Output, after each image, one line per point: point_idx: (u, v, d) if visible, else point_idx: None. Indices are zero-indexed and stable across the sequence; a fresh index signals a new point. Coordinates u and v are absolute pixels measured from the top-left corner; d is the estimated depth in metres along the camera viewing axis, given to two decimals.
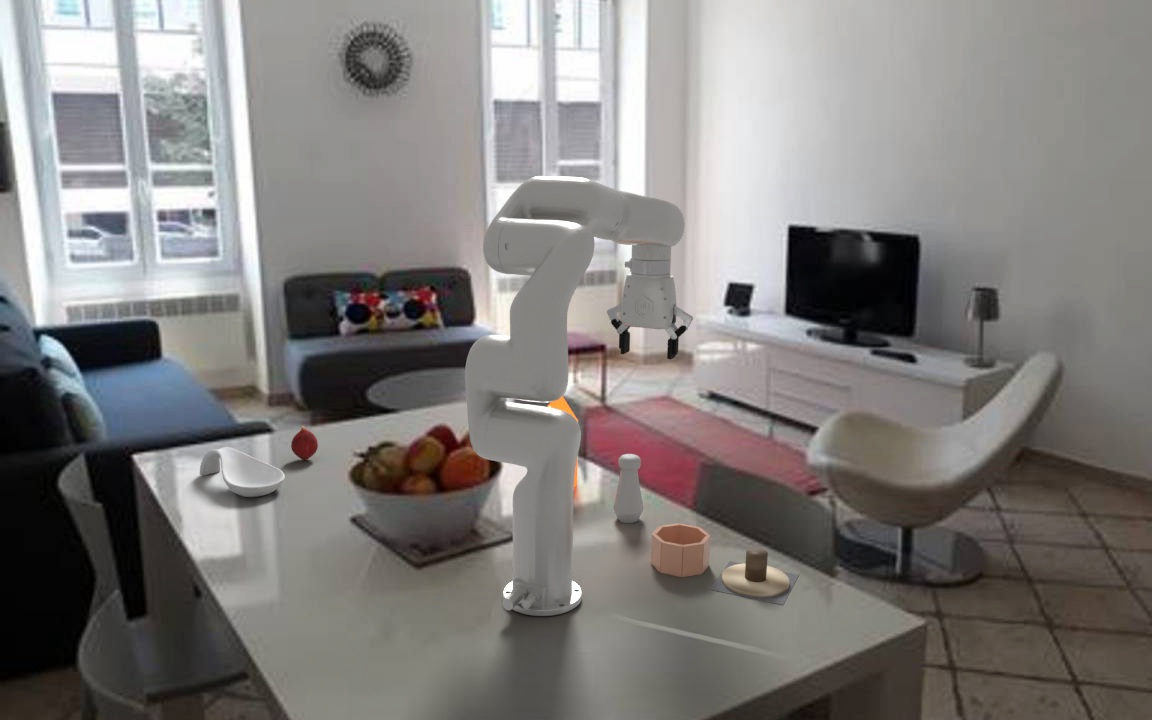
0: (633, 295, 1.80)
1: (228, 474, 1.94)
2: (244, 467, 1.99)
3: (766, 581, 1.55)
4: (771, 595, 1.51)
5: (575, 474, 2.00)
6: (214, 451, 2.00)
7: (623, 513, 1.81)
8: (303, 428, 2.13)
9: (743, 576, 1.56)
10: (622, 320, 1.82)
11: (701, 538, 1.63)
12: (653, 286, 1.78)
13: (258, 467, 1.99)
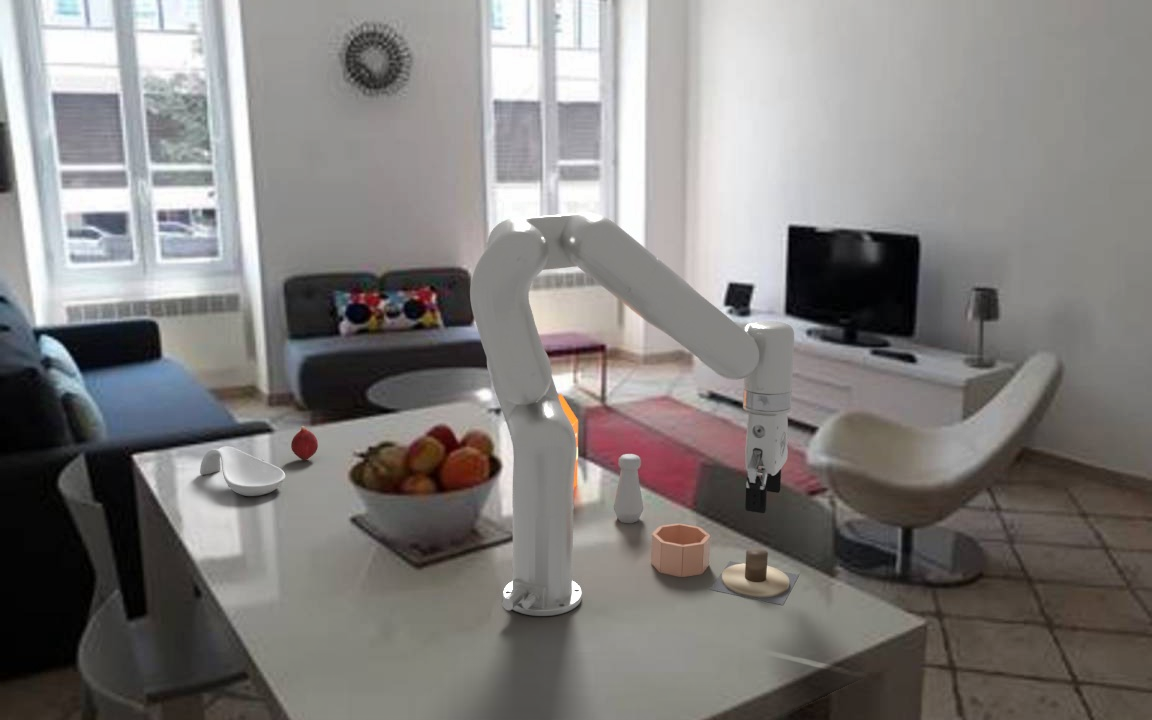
0: (779, 436, 1.47)
1: (228, 473, 1.95)
2: (244, 466, 1.99)
3: (766, 581, 1.55)
4: (771, 595, 1.51)
5: (575, 474, 2.00)
6: (214, 450, 2.00)
7: (623, 513, 1.81)
8: (303, 428, 2.13)
9: (743, 576, 1.56)
10: (774, 471, 1.47)
11: (701, 538, 1.63)
12: (785, 417, 1.51)
13: (258, 466, 2.00)
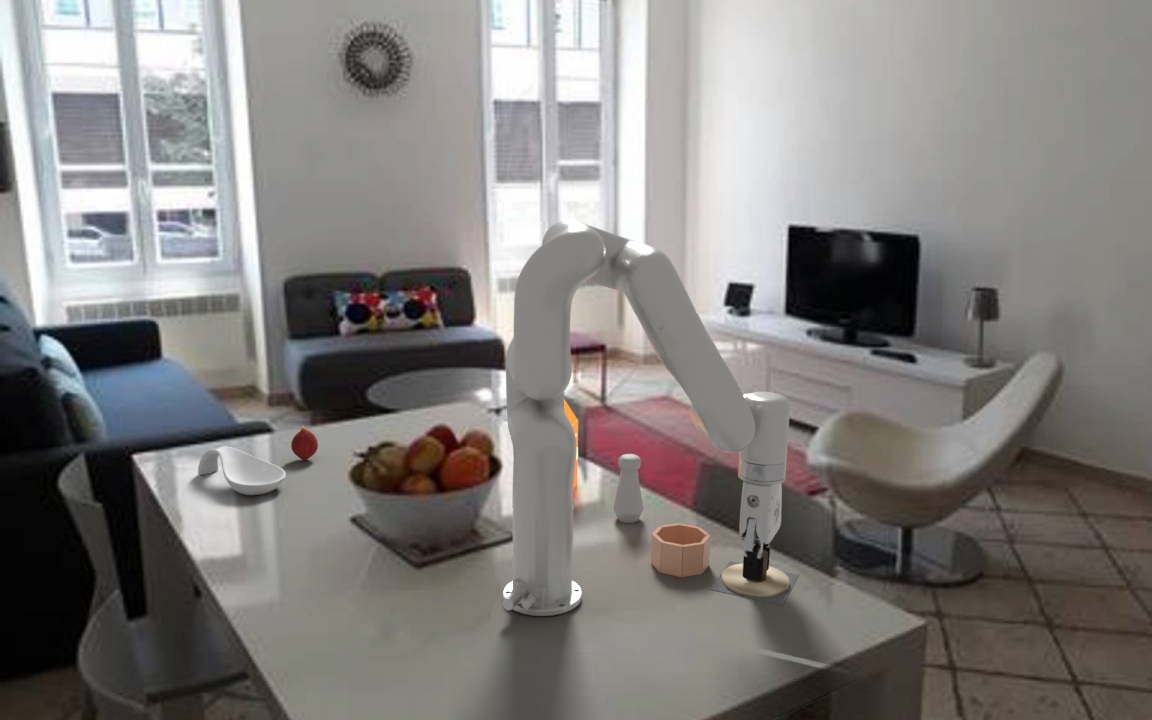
0: (773, 505, 1.50)
1: (228, 473, 1.95)
2: (244, 466, 2.00)
3: (766, 581, 1.55)
4: (771, 595, 1.51)
5: (575, 474, 2.00)
6: (213, 450, 2.00)
7: (623, 513, 1.81)
8: (303, 428, 2.13)
9: None
10: (767, 540, 1.49)
11: (701, 538, 1.63)
12: (780, 486, 1.53)
13: (258, 465, 2.00)
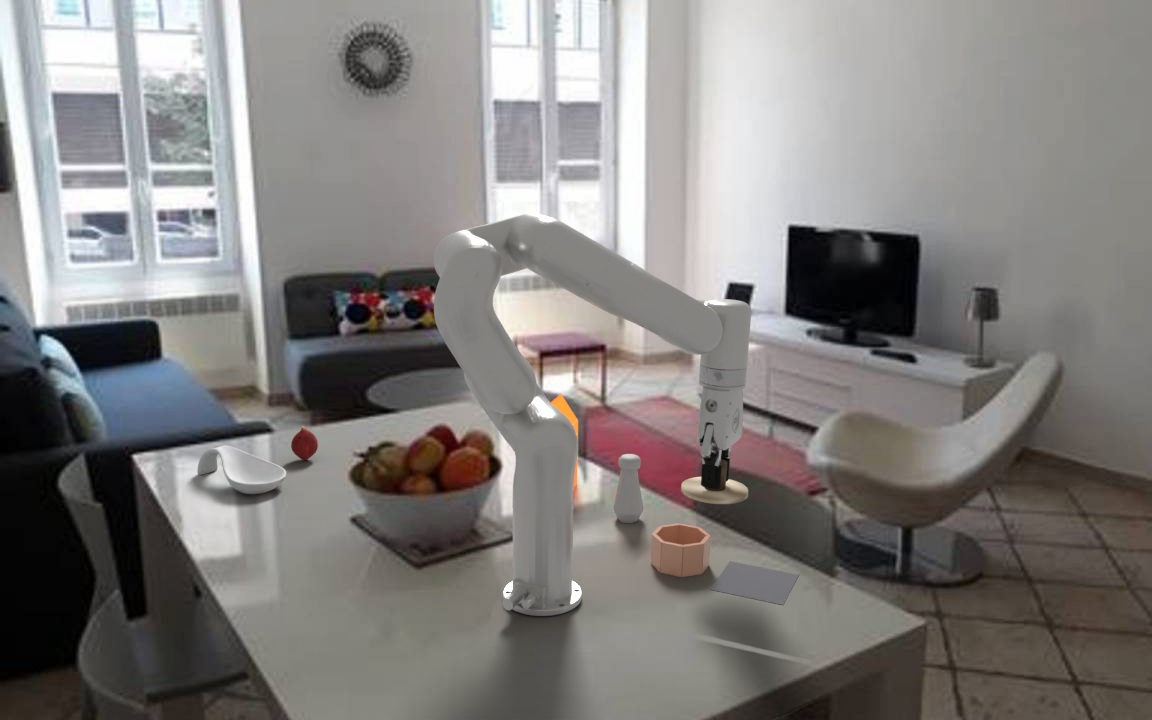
0: (732, 412, 1.50)
1: (229, 472, 1.96)
2: (244, 465, 2.00)
3: (725, 490, 1.55)
4: (728, 502, 1.51)
5: (575, 474, 2.00)
6: (213, 450, 2.01)
7: (623, 513, 1.81)
8: (303, 428, 2.13)
9: (702, 486, 1.57)
10: (725, 445, 1.49)
11: (701, 538, 1.63)
12: (740, 394, 1.53)
13: (258, 464, 2.01)
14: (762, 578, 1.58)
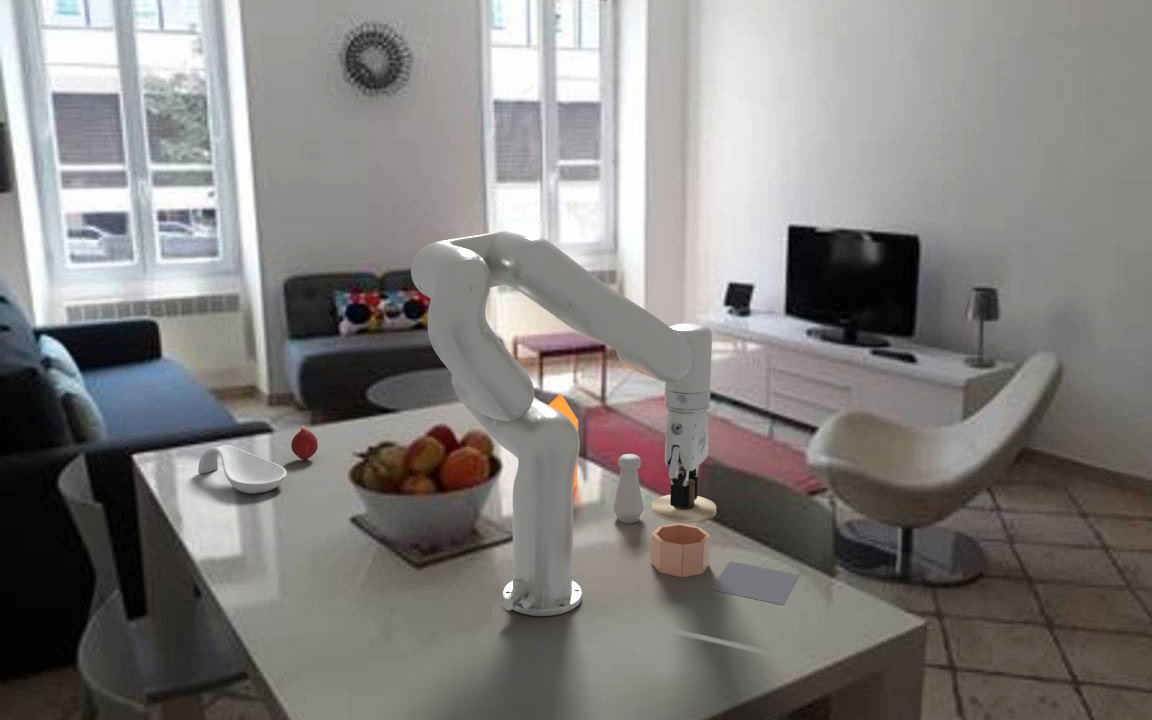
0: (697, 433, 1.54)
1: (229, 472, 1.96)
2: (245, 464, 2.00)
3: (693, 509, 1.59)
4: (697, 521, 1.56)
5: (575, 474, 2.00)
6: (214, 449, 2.01)
7: (623, 513, 1.81)
8: (303, 428, 2.13)
9: None
10: (691, 467, 1.54)
11: (701, 538, 1.63)
12: (705, 415, 1.57)
13: (258, 464, 2.01)
14: (762, 578, 1.58)
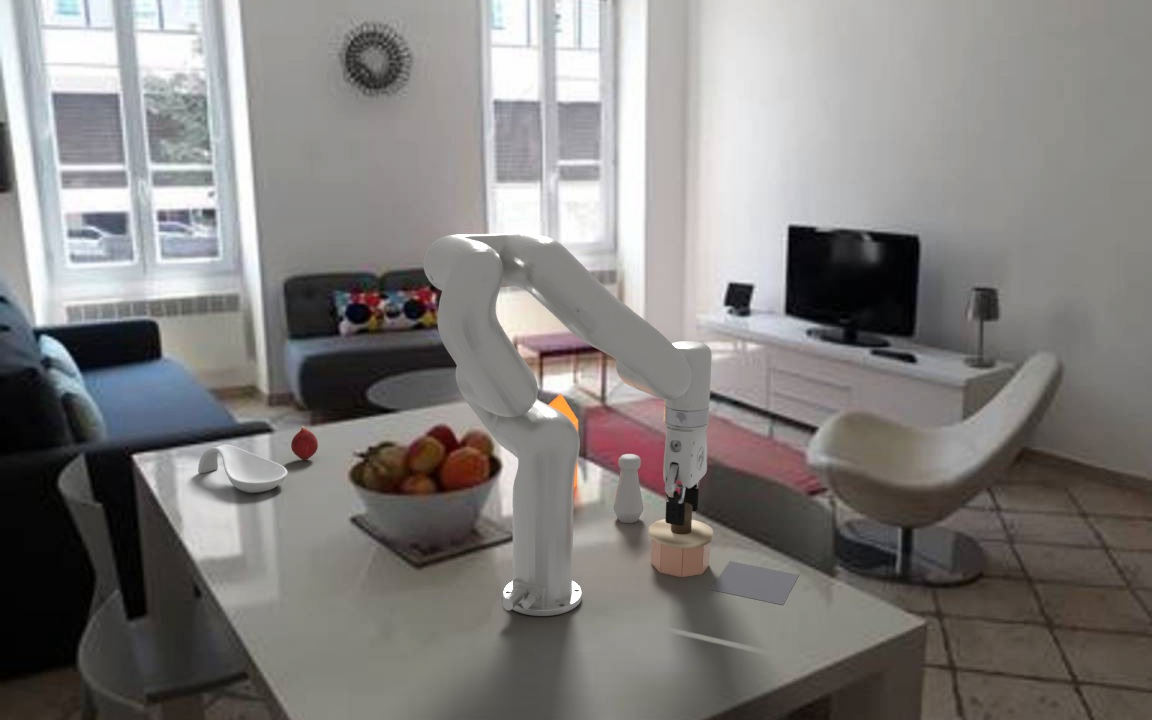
0: (696, 451, 1.55)
1: (230, 471, 1.96)
2: (245, 464, 2.01)
3: (691, 533, 1.60)
4: (694, 546, 1.56)
5: (575, 474, 2.00)
6: (214, 448, 2.01)
7: (623, 513, 1.81)
8: (303, 428, 2.13)
9: (669, 529, 1.62)
10: (690, 484, 1.54)
11: None
12: (703, 433, 1.58)
13: (259, 463, 2.02)
14: (762, 578, 1.58)
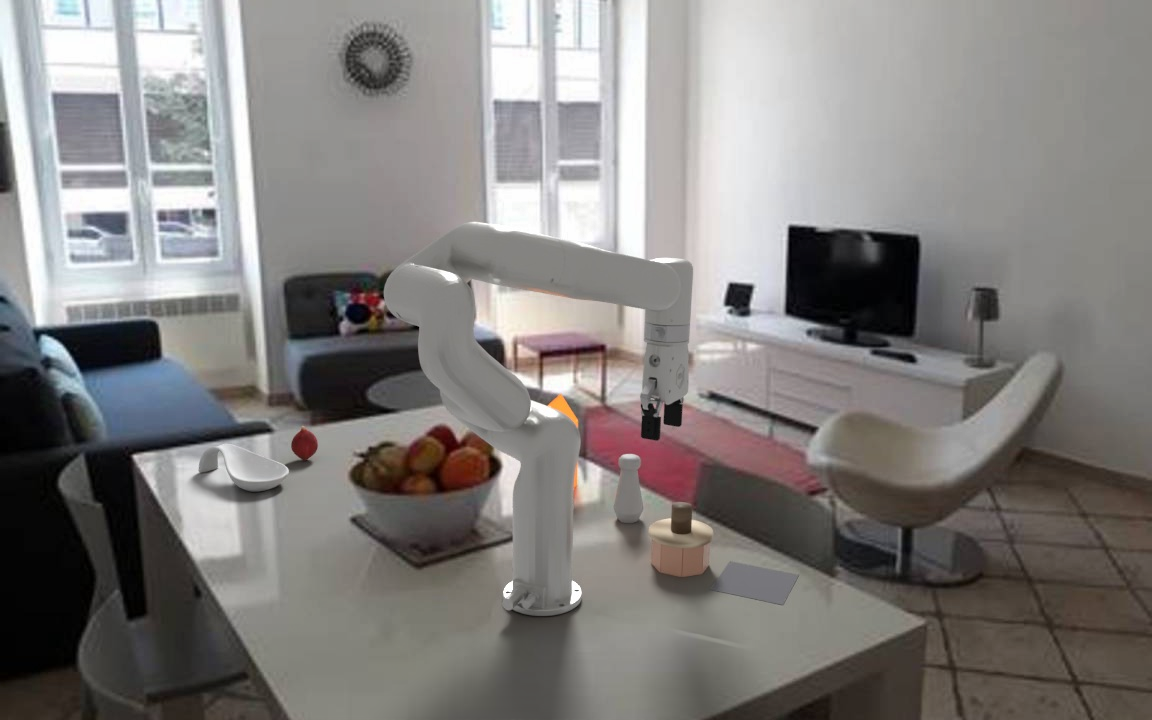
0: (675, 367, 1.54)
1: (231, 470, 1.97)
2: (246, 463, 2.02)
3: (691, 533, 1.60)
4: (694, 546, 1.56)
5: (575, 474, 2.00)
6: (215, 448, 2.02)
7: (623, 513, 1.81)
8: (303, 428, 2.13)
9: (669, 529, 1.62)
10: (668, 400, 1.53)
11: None
12: (684, 351, 1.57)
13: (260, 462, 2.02)
14: (762, 578, 1.58)
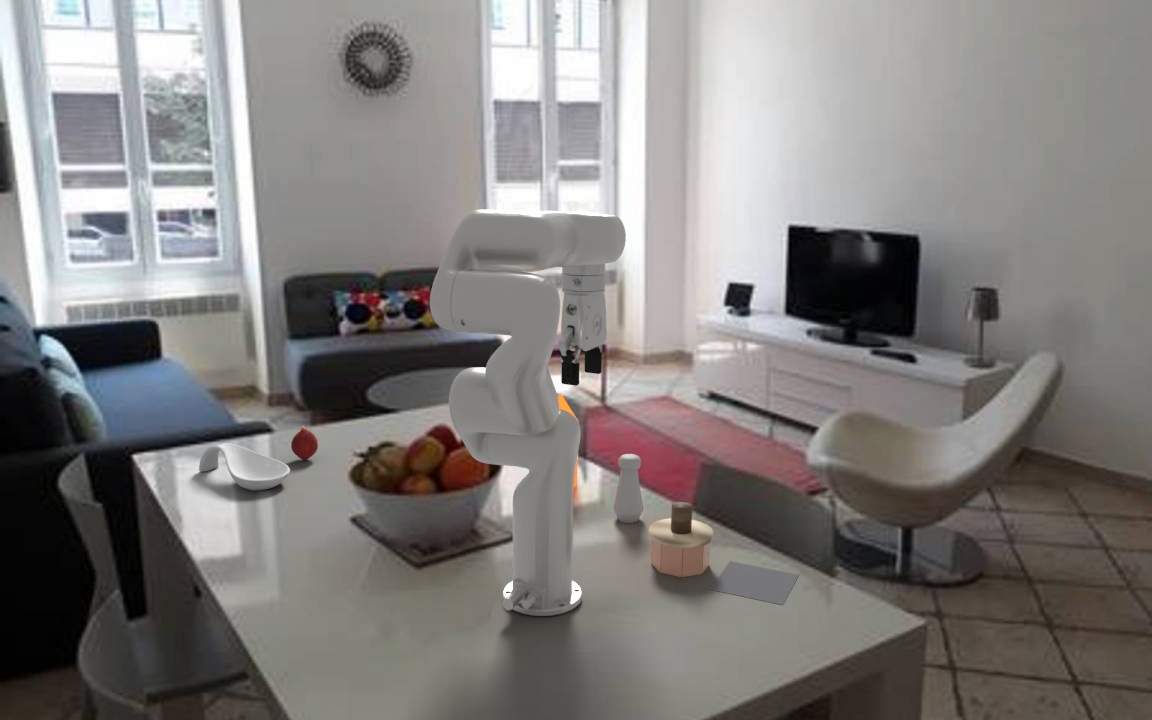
0: (591, 315, 1.63)
1: (233, 469, 1.98)
2: (247, 462, 2.02)
3: (691, 533, 1.60)
4: (694, 546, 1.56)
5: (575, 474, 2.00)
6: (215, 447, 2.02)
7: (623, 513, 1.81)
8: (303, 428, 2.13)
9: (669, 529, 1.62)
10: (585, 346, 1.62)
11: None
12: (601, 300, 1.66)
13: (261, 461, 2.03)
14: (762, 578, 1.58)
